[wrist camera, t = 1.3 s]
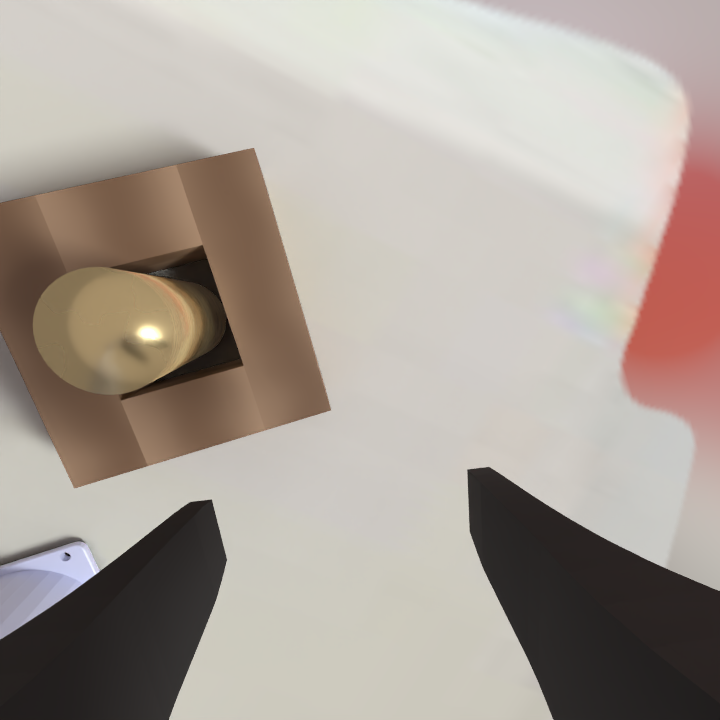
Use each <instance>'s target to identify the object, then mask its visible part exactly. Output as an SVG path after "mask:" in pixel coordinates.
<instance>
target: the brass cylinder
mask: <svg viewBox="0 0 720 720" xmlns="http://www.w3.org/2000/svg"><path fill="white" fill-rule="evenodd" d="M225 329H226V315H225V311H224V308H223V306H222V304H221V302H220V300H219V299H218V298H217V297H216V296H215V294H214V293H212V292H211V291H210V290H209V289H207V288H205V287H204V286H202V285H199V284H196V283H192V282H187V281H181V280H176V279H170V278H164V277H158V276H153V275H147V274H141V273H136V272H130V271H124V270H118V269H113V268H106V267H88V268H82V269H78V270H74V271H71V272H69V273H67V274H65V275H63V276H61V277H59V278H58V279H56V280H55V281H54V282H53V283H52V284H50V285H49V286H48V287H47V289H46V290H45V291H44V292H43V294H42V295H41V297H40V299H39V300H38V303H37V305H36V308H35V312H34V316H33V334H34V338H35V343H36V345H37V348H38V350H39V352H40V354H41V356H42V358H43V359H44V361H45V362H46V364H47V365H48V366H49V367H50V368H51V369H52V371H53V372H54V373H56V374H57V375H58V376H59V377H60V378H61V379H63V380H64V381H66V382H67V383H69V384H71V385H73V386H75V387H77V388H79V389H82V390H84V391H88V392H92V393H96V394H104V395H115V394H123V393H128V392H132V391H134V390H137V389H140V388H142V387H144V386H146V385H147V384H149V383H151V382H153V381H155V380H157V379H159V378H161V377H162V376H164V375H166V374H168V373H170V372H172V371H174V370H176V369H177V368H179V367H181V366H183V365H185V364H187V363H189V362H191V361H192V360H194V359H196V358H198V357H200V356H202V355H204V354H206V353H207V352H209V351H211V350H212V349H213V348H215V347H216V346H217V345H218V343H219V342H220V341H221V339H222V337H223V335H224V332H225Z"/></svg>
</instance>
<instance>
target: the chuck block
mask: <svg viewBox="0 0 720 720" xmlns="http://www.w3.org/2000/svg"><path fill="white" fill-rule="evenodd" d="M204 259H208V262H209V264H210V267H211V270H212V273H213V276H214V279H215V282H216V285H217V288H218V291H219V294H220V297H221V300H222V303H223V306H224V309H225V312H226V315H227V318H228V321H229V324H230V327H231V330H232V333H233V336H234V339H235V342H236V345H237V348H238V351H239V353H240V356H241V359H237V360H233V361H230V362H226V363H223V364H219V365H216V366H212V367H209V368H205V369H201V370H198V371H194V372H191V373H187V374H184V375H180V376H176V377H173V378H169V379H166V380H162V381H159V382H155V383H153V382H151V383H149V384H147V385H146V386H144V387H142V388H140V389H137V390H134V391H132V392H128V393H123V394H115V395H104V394H96V393H92V392H88V391H84V390H82V389H79V388H77V387H75V386H73V385H71V384H69V383H67V382H66V381H64V380H63V379H61V378H60V377H59V376H58V375H57V374H56V373H54V372H53V371H52V369H51V368H50V367H49V366H48V365H47V364H46V362H45V361H44V359H43V358H42V356H41V354H40V352H39V350H38V348H37V345H36V343H35V338H34V334H33V316H34V312H35V308H36V305H37V303H38V300H39V299H40V297H41V295H42V294H43V292H44V291H45V290H46V289H47V287H48V286H49V285H50V284H52V283H53V282H54V281H55V280H56V279H58V278H59V277H61V276H63V275H65V274H67V273H69V272H71V271H74V270H78V269H82V268H88V267H106V268H113V269H118V270H124V271H130V272H136V273H141V274H147V273H151V272H155V271H159V270H163V269H167V268H171V267H175V266H179V265H183V264H188V263H192V262H196V261H200V260H204ZM0 331H1V333H2V335H3V337H4V340H5V342H6V344H7V346H8V348H9V350H10V352H11V354H12V357H13V359H14V361H15V363H16V365H17V367H18V369H19V371H20V374H21V376H22V378H23V380H24V382H25V384H26V386H27V388H28V391H29V393H30V395H31V397H32V399H33V401H34V403H35V406H36V408H37V410H38V412H39V414H40V416H41V418H42V420H43V423H44V425H45V427H46V429H47V431H48V433H49V435H50V437H51V440H52V442H53V444H54V446H55V448H56V450H57V452H58V454H59V457H60V459H61V461H62V463H63V465H64V467H65V469H66V472H67V474H68V476H69V478H70V480H71V482H72V484H73V486H74V488H77V487H81V486H84V485H87V484H90V483H94V482H97V481H100V480H104V479H107V478H110V477H113V476H117V475H120V474H123V473H126V472H130V471H133V470H136V469H140V468H143V467H146V466H149V465H153V464H156V463H159V462H163V461H166V460H169V459H172V458H176V457H179V456H182V455H186V454H189V453H192V452H195V451H199V450H202V449H205V448H209V447H212V446H215V445H218V444H222V443H225V442H228V441H232V440H235V439H238V438H241V437H245V436H248V435H251V434H255V433H258V432H261V431H264V430H268V429H271V428H274V427H277V426H281V425H284V424H287V423H291V422H294V421H297V420H300V419H304V418H307V417H310V416H314V415H317V414H320V413H323V412H327V411H330V410H331V408H330V404H329V401H328V397H327V393H326V389H325V386H324V383H323V379H322V376H321V372H320V369H319V366H318V362H317V359H316V355H315V352H314V348H313V345H312V342H311V338H310V335H309V331H308V328H307V325H306V321H305V318H304V314H303V311H302V308H301V304H300V301H299V297H298V294H297V290H296V287H295V284H294V280H293V277H292V273H291V270H290V267H289V263H288V260H287V256H286V253H285V250H284V246H283V243H282V239H281V236H280V233H279V229H278V226H277V222H276V219H275V215H274V212H273V209H272V205H271V202H270V198H269V195H268V192H267V188H266V185H265V181H264V178H263V175H262V172H261V168H260V165H259V162H258V159H257V156H256V153H255V150H254V148H251V149H247V150H242V151H237V152H233V153H228V154H223V155H219V156H214V157H210V158H205V159H200V160H196V161H191V162H187V163H182V164H177V165H173V166H168V167H164V168H159V169H154V170H150V171H145V172H141V173H136V174H131V175H127V176H122V177H117V178H113V179H108V180H104V181H99V182H94V183H90V184H85V185H81V186H76V187H71V188H67V189H62V190H58V191H53V192H48V193H44V194H39V195H34V196H30V197H25V198H21V199H16V200H11V201H7V202H2V203H0Z"/></svg>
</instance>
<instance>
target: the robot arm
mask: <svg viewBox="0 0 720 720" xmlns="http://www.w3.org/2000/svg"><path fill="white" fill-rule="evenodd" d="M467 471H468V497H469V523H470V533H471V536H472V539H473V542H474V545H475V547H476V550H477V553H478V556H479V558H480V561H481V564H482V566H483V569H484V571H485V573H486V575H487V577H488V579H489V581H490V583H491V585H492V587H493V589H494V591H495V593H496V595H497V598H498V600H499V602H500V604H501V606H502V608H503V610H504V612H505V614H506V616H507V618H508V620H509V622H510V624H511V626H512V628H513V630H514V632H515V634H516V636H517V638H518V640H519V642H520V644H521V646H522V648H523V650H524V652H525V654H526V656H527V658H528V660H529V662H530V664H531V667H532V669H533V671H534V673H535V675H536V678H537V680H538V682H539V685H540V687H541V690H542V692H543V695H544V697H545V700H546V702H547V705H548V707H549V710H550V712H551V714H552V717H553V719H554V720H720V591H718V590H715V589H712V588H710V587H708V586H706V585H703V584H701V583H698V582H696V581H694V580H691V579H689V578H687V577H684V576H682V575H680V574H677V573H675V572H672V571H670V570H668V569H666V568H664V567H661V566H659V565H657V564H655V563H653V562H650V561H648V560H646V559H644V558H642V557H640V556H638V555H636V554H634V553H632V552H630V551H628V550H626V549H624V548H622V547H620V546H618V545H616V544H614V543H612V542H610V541H608V540H606V539H604V538H602V537H600V536H599V535H597V534H595V533H593V532H591V531H590V530H588V529H586V528H584V527H583V526H581V525H579V524H577V523H576V522H574V521H572V520H570V519H569V518H567V517H565V516H564V515H562V514H561V513H559V512H557V511H556V510H554V509H552V508H551V507H549V506H548V505H546V504H544V503H543V502H541V501H540V500H538V499H537V498H535V497H534V496H532V495H531V494H529V493H528V492H526V491H525V490H523V489H522V488H520V487H519V486H517V485H516V484H514V483H513V482H511V481H510V480H508V479H507V478H505V477H504V476H502V475H501V474H499V473H498V472H496V471H495V470H493V469H491V468H490V467H486V468H477V469H469V470H467ZM65 553H69V554H70V556H67V555H66V554H65ZM226 561H227V558H226V554H225V550H224V546H223V542H222V538H221V535H220V531H219V527H218V523H217V519H216V515H215V511H214V507H213V503H212V500H204V501H196V502H190V503H188V504H187V505H185V506H184V507H182V508H181V509H180V510H178V511H177V512H176V513H174V514H173V515H172V516H170V517H169V518H168V519H166V520H165V521H164V522H163V523H161V524H160V525H159V526H158V527H156V528H155V529H154V530H153V531H151V532H150V533H149V534H148V535H146V536H145V537H144V538H142V539H141V540H140V541H139V542H137V543H136V544H135V545H134V546H132V547H131V548H130V549H129V550H127V551H126V552H125V553H123V554H122V555H121V556H120V557H118V558H117V559H116V560H114V561H113V562H112V563H110V564H109V565H108V566H106V567H105V568H104V569H102V570H101V571H100V570H99V568H98V566H97V564H96V562H95V560H94V558H93V556H92V553H91V551H90V549H89V547H88V546H87V544H85V543H84V542H80V541H78V542H73V543H70V544H67V545H64V546H61V547H58V548H55V549H51V550H48V551H45V552H42V553H39V554H36V555H33V556H30V557H26V558H23V559H20V560H17V561H14V562H11V563H8V564H5V565H1V566H0V720H169V717H170V715H171V712H172V709H173V707H174V704H175V701H176V699H177V696H178V694H179V691H180V689H181V686H182V684H183V681H184V679H185V676H186V674H187V671H188V669H189V666H190V664H191V661H192V659H193V657H194V654H195V652H196V649H197V647H198V644H199V642H200V639H201V637H202V634H203V632H204V629H205V627H206V624H207V622H208V619H209V617H210V614H211V612H212V609H213V606H214V604H215V601H216V598H217V595H218V591H219V588H220V584H221V581H222V577H223V573H224V569H225V565H226Z"/></svg>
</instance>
